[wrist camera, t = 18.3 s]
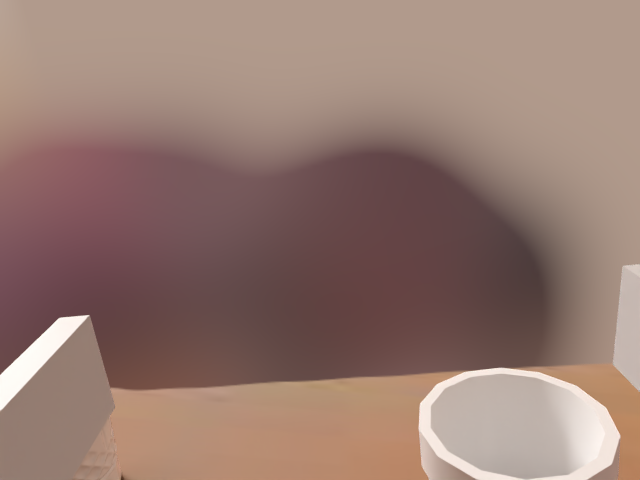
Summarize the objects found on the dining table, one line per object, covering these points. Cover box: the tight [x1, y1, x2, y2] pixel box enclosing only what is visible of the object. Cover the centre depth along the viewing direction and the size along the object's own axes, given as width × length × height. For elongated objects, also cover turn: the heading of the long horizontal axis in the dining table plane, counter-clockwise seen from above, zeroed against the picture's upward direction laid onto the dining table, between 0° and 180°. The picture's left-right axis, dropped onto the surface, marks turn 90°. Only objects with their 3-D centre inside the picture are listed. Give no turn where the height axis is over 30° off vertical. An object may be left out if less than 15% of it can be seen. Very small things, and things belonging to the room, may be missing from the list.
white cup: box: [71, 417, 122, 480], centre depth 42 cm, size 8×8×10 cm
